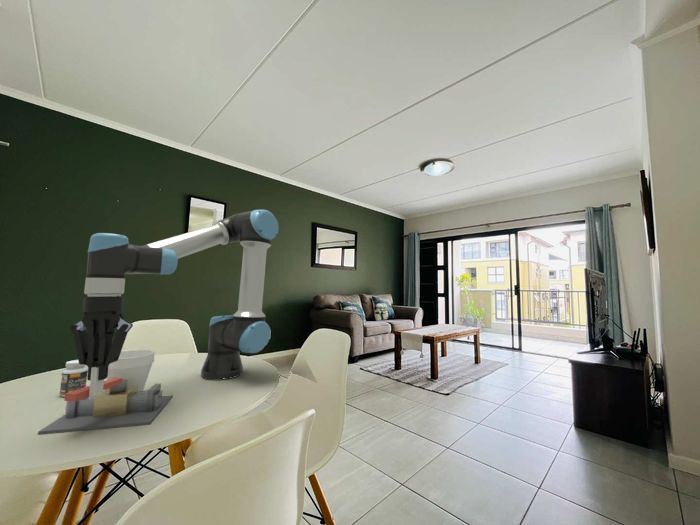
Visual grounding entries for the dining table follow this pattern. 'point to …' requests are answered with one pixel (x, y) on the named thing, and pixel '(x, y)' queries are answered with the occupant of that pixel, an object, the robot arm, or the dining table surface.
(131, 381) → the cup
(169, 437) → the dining table surface
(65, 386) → the pill bottle
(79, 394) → the lever
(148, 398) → the valve
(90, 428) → the mat
